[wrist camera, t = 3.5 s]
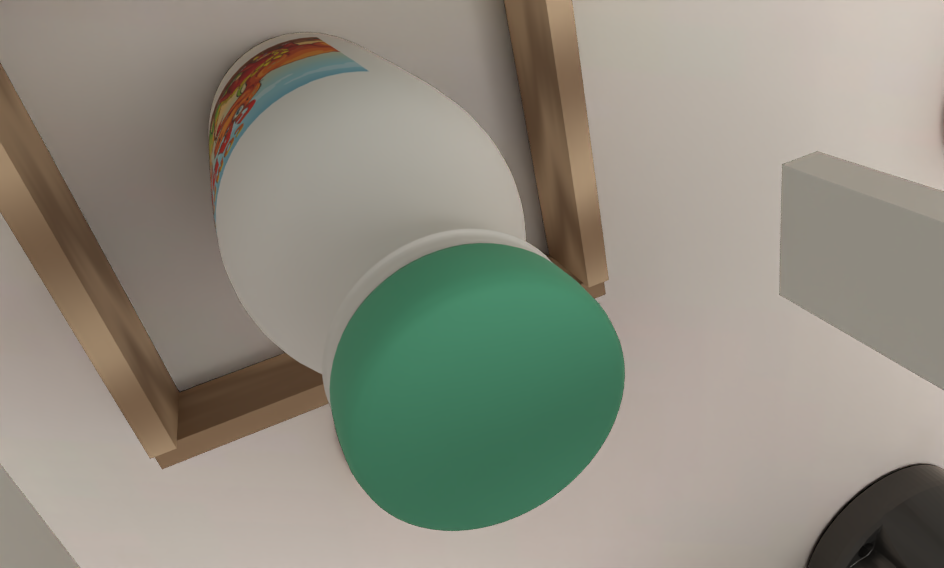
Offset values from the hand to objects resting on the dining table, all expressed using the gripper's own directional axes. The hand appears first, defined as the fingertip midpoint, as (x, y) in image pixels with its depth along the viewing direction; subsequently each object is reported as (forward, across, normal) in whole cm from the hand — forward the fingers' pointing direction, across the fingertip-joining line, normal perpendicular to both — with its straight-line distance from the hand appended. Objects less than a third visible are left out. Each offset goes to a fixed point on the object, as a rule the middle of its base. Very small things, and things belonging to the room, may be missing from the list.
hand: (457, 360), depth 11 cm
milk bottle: (+19, 0, 0) cm, 19 cm away
